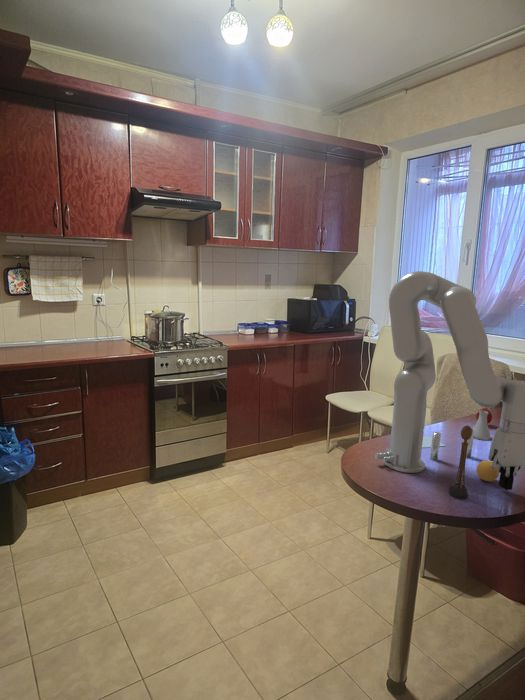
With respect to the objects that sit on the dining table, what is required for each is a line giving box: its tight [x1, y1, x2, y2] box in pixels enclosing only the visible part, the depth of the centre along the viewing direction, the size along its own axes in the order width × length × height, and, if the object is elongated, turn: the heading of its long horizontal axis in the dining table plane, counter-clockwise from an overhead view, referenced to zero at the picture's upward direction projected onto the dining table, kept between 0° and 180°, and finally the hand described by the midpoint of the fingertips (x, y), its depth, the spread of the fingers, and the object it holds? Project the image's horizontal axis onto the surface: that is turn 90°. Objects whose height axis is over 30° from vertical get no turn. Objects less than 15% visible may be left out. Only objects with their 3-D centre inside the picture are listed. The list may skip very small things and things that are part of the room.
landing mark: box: [422, 435, 446, 449], centre depth 160 cm, size 10×10×1 cm
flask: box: [472, 410, 492, 441], centre depth 167 cm, size 7×7×10 cm
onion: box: [475, 407, 493, 425], centre depth 180 cm, size 6×6×8 cm
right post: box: [466, 431, 475, 459], centre depth 148 cm, size 2×2×9 cm
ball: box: [476, 459, 500, 482], centre depth 131 cm, size 6×6×6 cm
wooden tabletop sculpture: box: [448, 425, 473, 500], centre depth 120 cm, size 6×5×20 cm
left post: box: [429, 431, 442, 462], centre depth 144 cm, size 2×2×9 cm
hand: (505, 487), depth 124 cm, fingers closed
